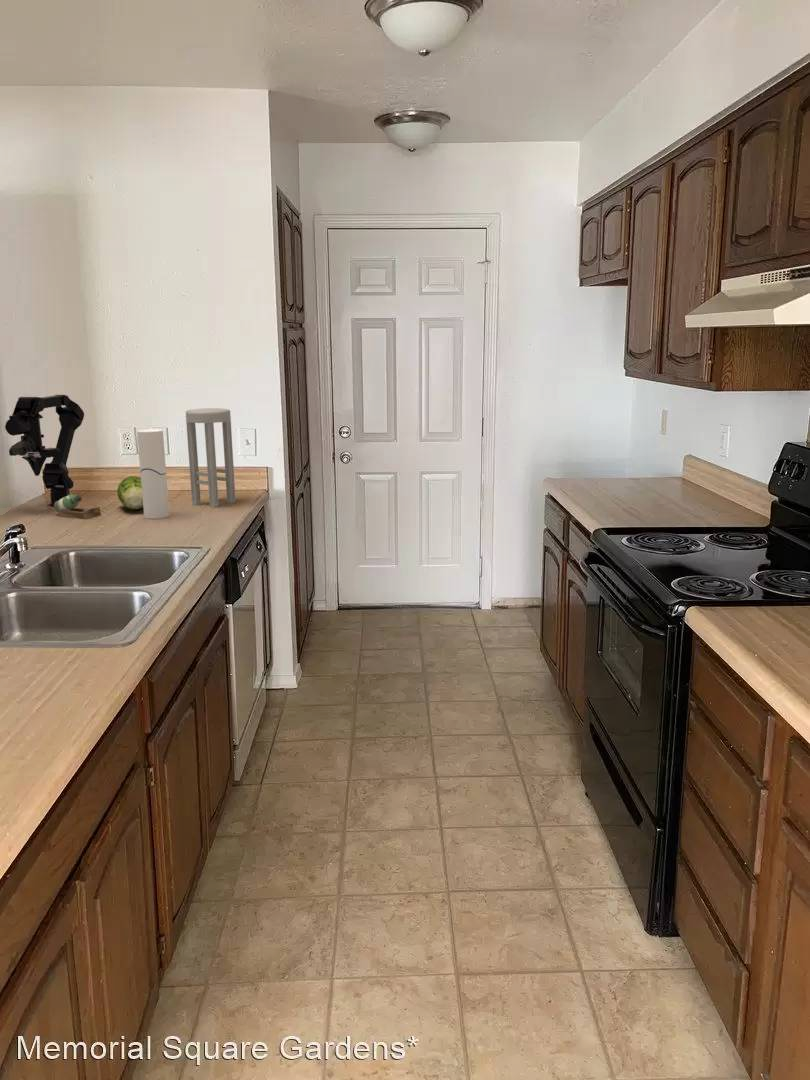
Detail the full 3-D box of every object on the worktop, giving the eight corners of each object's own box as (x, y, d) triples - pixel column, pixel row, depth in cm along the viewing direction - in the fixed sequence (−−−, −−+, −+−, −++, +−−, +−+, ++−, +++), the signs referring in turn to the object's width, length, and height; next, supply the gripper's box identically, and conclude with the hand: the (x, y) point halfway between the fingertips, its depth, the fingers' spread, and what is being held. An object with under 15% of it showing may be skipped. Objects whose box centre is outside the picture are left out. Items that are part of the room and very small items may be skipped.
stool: (214, 509, 305) (208, 412, 297) (184, 505, 313) (177, 410, 305) (243, 501, 318) (238, 409, 310) (213, 498, 326) (207, 407, 318)
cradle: (73, 512, 301) (72, 504, 300) (100, 515, 297) (99, 506, 296) (59, 516, 295) (58, 508, 294) (86, 519, 291) (86, 510, 290)
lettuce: (119, 516, 295) (116, 484, 292) (118, 505, 314) (115, 475, 311) (153, 513, 299) (151, 482, 296) (150, 503, 318) (147, 473, 315)
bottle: (62, 499, 300) (80, 490, 296) (68, 511, 301) (86, 502, 296) (51, 502, 296) (69, 492, 292) (57, 514, 297) (75, 505, 292)
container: (162, 519, 289) (155, 432, 282) (139, 518, 291) (132, 431, 284) (173, 513, 298) (167, 429, 290) (151, 513, 299) (144, 429, 292)
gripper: (-6, 433, 294) (-1, 477, 298) (34, 435, 287) (39, 480, 291) (19, 430, 304) (24, 473, 308) (58, 432, 297) (63, 475, 301)
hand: (37, 475), depth 302 cm, fingers closed
